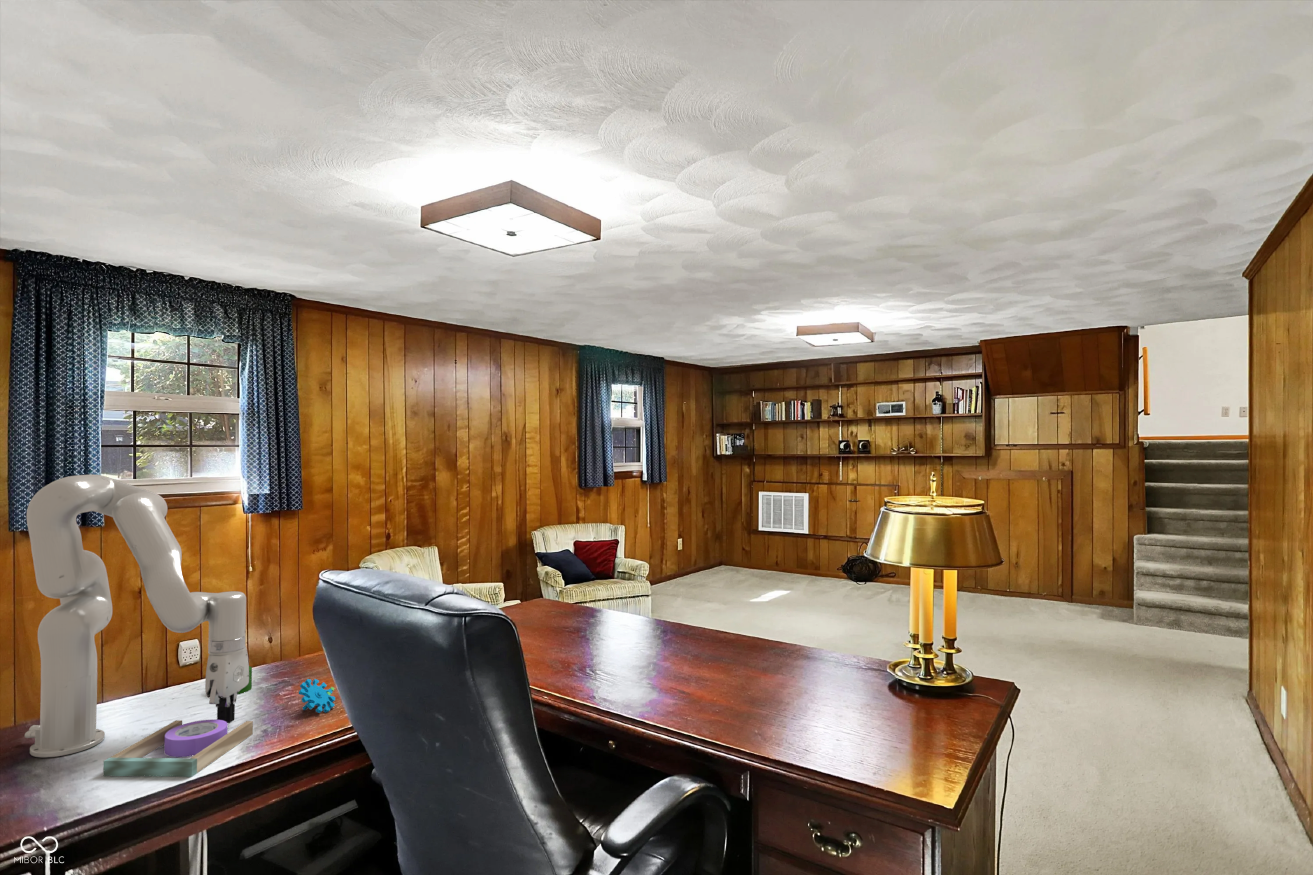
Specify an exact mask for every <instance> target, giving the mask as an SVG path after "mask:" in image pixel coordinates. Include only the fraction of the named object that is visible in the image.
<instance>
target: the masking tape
mask: <svg viewBox="0 0 1313 875" xmlns="http://www.w3.org/2000/svg"><path fill="white" fill-rule="evenodd" d="M228 724H229V723H227V722H226V721H223V720H217V719H203V720H195V721H191V722H190V721H189V722H187V723H182V725H180V726H177V727H175V728H173V729H171V730H169V731H168V732H167V733H166V734H165V744H163V745H164V750H163V751H164V752H163V753H164V755H166V756H167V757H171V758H185V757H186V758H188V757H193V756H192V755H196V754H197V753H199V752H200V751H202V750H203V749H205V748H206V747H208V746H209V745H211V744H212V743H214V742H215V741H217V740H219V739H220V738H222V737H223V736H225V735H226V734H228ZM187 756H188V757H187Z"/></svg>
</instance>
